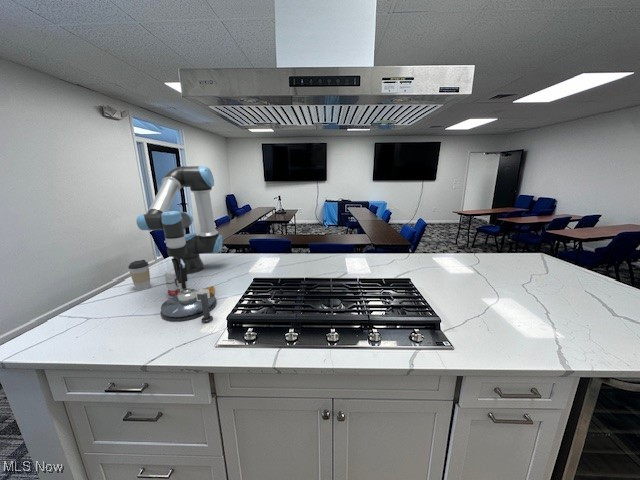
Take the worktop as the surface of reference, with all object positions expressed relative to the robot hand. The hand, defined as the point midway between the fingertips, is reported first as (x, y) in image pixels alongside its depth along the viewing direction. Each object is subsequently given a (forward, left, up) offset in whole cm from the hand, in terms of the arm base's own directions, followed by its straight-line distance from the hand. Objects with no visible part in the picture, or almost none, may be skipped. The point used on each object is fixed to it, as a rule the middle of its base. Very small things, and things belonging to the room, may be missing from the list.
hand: (184, 294), depth 117 cm
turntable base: (+3, +4, -5) cm, 7 cm away
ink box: (-12, -12, -5) cm, 18 cm away
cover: (+3, +4, -2) cm, 5 cm away
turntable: (+3, +4, -4) cm, 6 cm away
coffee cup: (-15, -36, -5) cm, 39 cm away
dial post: (+12, +18, -5) cm, 22 cm away
